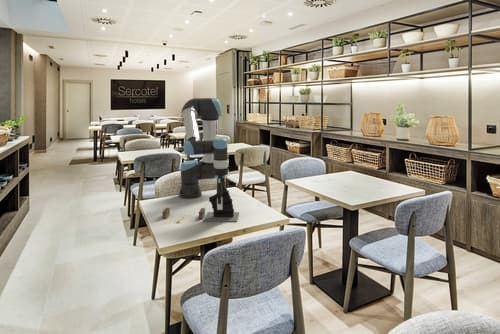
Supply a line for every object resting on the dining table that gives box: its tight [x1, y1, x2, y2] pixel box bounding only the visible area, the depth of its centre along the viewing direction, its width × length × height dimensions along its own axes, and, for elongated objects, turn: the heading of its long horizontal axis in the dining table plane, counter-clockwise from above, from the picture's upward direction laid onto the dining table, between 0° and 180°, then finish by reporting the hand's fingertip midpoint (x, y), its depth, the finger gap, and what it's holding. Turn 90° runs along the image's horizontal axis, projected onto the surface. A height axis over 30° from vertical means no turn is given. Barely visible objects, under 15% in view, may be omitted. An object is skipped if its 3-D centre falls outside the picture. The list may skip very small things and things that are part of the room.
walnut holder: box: [161, 207, 206, 220], centre depth 192 cm, size 22×7×4 cm, turn 87°
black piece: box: [208, 188, 235, 217], centre depth 190 cm, size 4×13×15 cm, turn 87°
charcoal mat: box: [202, 211, 240, 223], centre depth 191 cm, size 14×18×1 cm
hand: (221, 205), depth 190 cm, fingers open, 13 cm apart
